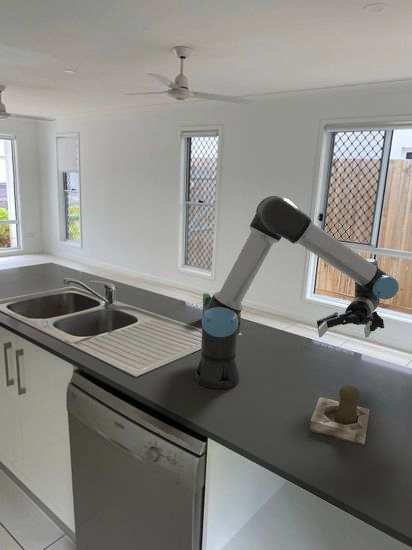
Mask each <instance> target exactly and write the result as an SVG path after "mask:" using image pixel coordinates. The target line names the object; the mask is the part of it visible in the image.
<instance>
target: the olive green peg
mask: <svg viewBox="0 0 412 550" xmlns="http://www.w3.org/2000/svg"><path fill="white" fill-rule="evenodd" d="M338 394H339V397H340V398H339V399H340V400H339V402H340V403H339V406H338V410H337V413H336V417H335V420H334V422H336V423H340V424H344V425H349V424H354V423H357V406H358V405H357V404H358V403H357V402H358V401H359V398H360V391H359V389H358V388H356V387H354V386H353V385H347V384H346V385H343V386H342V387H340V388H339V393H338Z"/></svg>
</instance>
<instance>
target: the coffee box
mask: <svg viewBox="0 0 412 550" xmlns="http://www.w3.org/2000/svg"><path fill="white" fill-rule="evenodd" d="M211 299H212V296H211V295H210V294H209V292H205V293H203V294H202V312H203V311H204V308H205V306H206V305H207V304H208V303H209V302H210V300H211Z"/></svg>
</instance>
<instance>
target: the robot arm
mask: <svg viewBox="0 0 412 550" xmlns="http://www.w3.org/2000/svg"><path fill="white" fill-rule="evenodd" d="M249 229H250V233H249V235H248V237H247V239H246V241H245V243H244V245H243V247H242V249H241V250H240V252H239V254H238V256H237V258H236V260H235V262H234V264H233V266H232V268H231V270H229V271H230V272H229V274H228V275H227V277H226V279H225V280H224V283H223V284H222V287H221V289H220V291H216V292H214V293H213V295H212V296H211V300H210V302H209V303H208V304H207V305H206V306H205V308H204V311H203V310H202V318H201V347H200V349H201V352H200V358H199V361H198V364H197V365H196V366H197V367H196V369H195V371H194V373H195V374H194V375H195V377H194V379H195V381H196V382H197V383H198V384H199V383H200V384H199V385H201V386H202V387H206V388H209V389H213V390H214V389H215V390H223V389H229V388H230V389H231V388H233V387H235V386H237V385H238V384H239V383H240V379H241V374H240V373H241V372H240V369H239V364H238V361H237V358H236V357H237V343H238V342H237V339H238V335H237V327H238V316H239V314H240V313H242V310H243V308H244V307H243V306H242V302H243V300H244V299H245V296H246V294H247V292H248V290H249V289H250V287H251V285H252V283H253V281H254V280H255V278H256V276H257V274H258V272H259V271H260V268H261V267H262V265H263V263H264V261H265V259H266V257H267V256H268V254H269V252H270V250H271V249H272V247H273V245H274V244H276V243H278V242H280V241H281V239H282V238H283V239H285V240H287V241H289V243H292V244H293V245H294V244H299V245H301V246H302V247H304V248H305V249H306V250H308V251H309V252H311V253H312V254H314V255H315V256H316V257H318V258H320V259H321V260H322V261H324V262H325V263H327V264H328V265H330V266H332V267H333V268H335V269H336V270H337V271H339V272H340V273H342V274H343V275H345V276H346V277H348V278H350V279H351V280H352V281H354V299H353V300H352V301H351V302H350V303H349V305H348V306H347V307H346V309H345V311H344V312H342V313H340V314H339V312H334V313H332V314H329V315H328V316H325V317H323V318H321V319H318V320H316V325H317V332H318V333H317V334H318V338H322V337H323V336H324V335H325V334H326V332H328V330H329V329H330V328H333V327H337V326H340V325H342V326H345V325H348V324H350V325H351V324H353V325H357V326H361V325H364V328H363V332H364V337H365V338H369V337H370V335H371V333H372V332H375V331H376V330H377V329H378V328H380V329H385V322H384V319H383V318H382V317H381V316H380V315H379V314H378V311H375V310H377V309H378V306H379V304H380V300H381V299H382V300H390V299H392V298H394V297H395V296H396V295H397V294H398V292H399V288H400V287H399V282H398V280H397V279H396V278H394V277H393V276H392V275H391V274H388V273H386V272H384V270H382V269H380V268H379V263H378V261H377V259H374V258H364V257H363V256H362V255H360V254H359V253H357V252H356V251H354V250H353V249H352V248H349V247H348V246H347V245H346V244H344V243H342V242H341V241H340V240H339V239H337V238H335V236H334V237H333V236H332V235H331V234H329V233H328V232H327V231H325V230H324V229H322V228H320V227H319V226H318V225H316V224H315V223H314V222H313V218H312V217H310V216H309V214H306V213H305V212H304V211H302V210H301V209H300V208H299V207H298V206H297V205H296V204H295V203H294V202H293V201H292V200H290V199H288V198H286V197H282V196H280V195H279V196H278V195H271V196H267V197H266V198H264V199H262V200H261V201H260V202H259V203H258V205H257V206H256V210H255V215H254V216H253V219H252V221H251V222H250V224H249Z"/></svg>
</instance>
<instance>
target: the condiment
mask: <svg viewBox="0 0 412 550" xmlns="http://www.w3.org/2000/svg"><path fill="white" fill-rule="evenodd" d="M241 313H242V312H241ZM241 313H240V314H239V316H238V327H237V336H243V333H242V332H241V318H242V315H241Z"/></svg>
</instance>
